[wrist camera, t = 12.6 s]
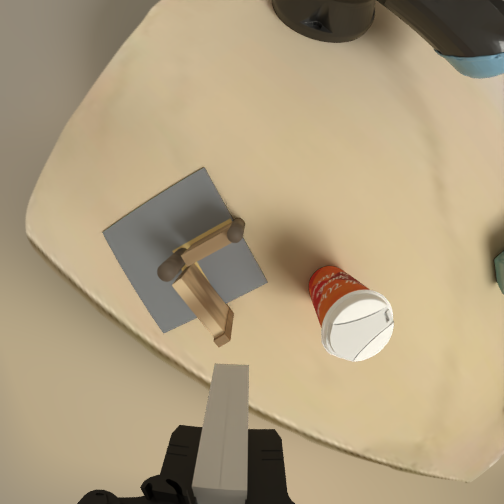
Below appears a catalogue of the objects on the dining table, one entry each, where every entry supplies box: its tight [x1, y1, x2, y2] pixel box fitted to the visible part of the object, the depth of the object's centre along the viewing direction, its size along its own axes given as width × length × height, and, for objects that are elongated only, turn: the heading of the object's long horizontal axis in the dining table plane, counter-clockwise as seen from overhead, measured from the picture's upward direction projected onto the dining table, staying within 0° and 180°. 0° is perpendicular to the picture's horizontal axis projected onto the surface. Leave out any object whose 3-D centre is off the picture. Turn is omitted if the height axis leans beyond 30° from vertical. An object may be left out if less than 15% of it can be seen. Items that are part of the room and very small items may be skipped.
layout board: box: [102, 168, 268, 333], centre depth 38 cm, size 17×17×1 cm
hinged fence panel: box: [172, 263, 234, 347], centre depth 35 cm, size 9×2×8 cm, turn 35°
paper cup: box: [309, 266, 394, 361], centre depth 32 cm, size 8×8×14 cm
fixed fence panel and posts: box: [157, 218, 245, 282], centre depth 33 cm, size 2×10×8 cm, turn 118°
